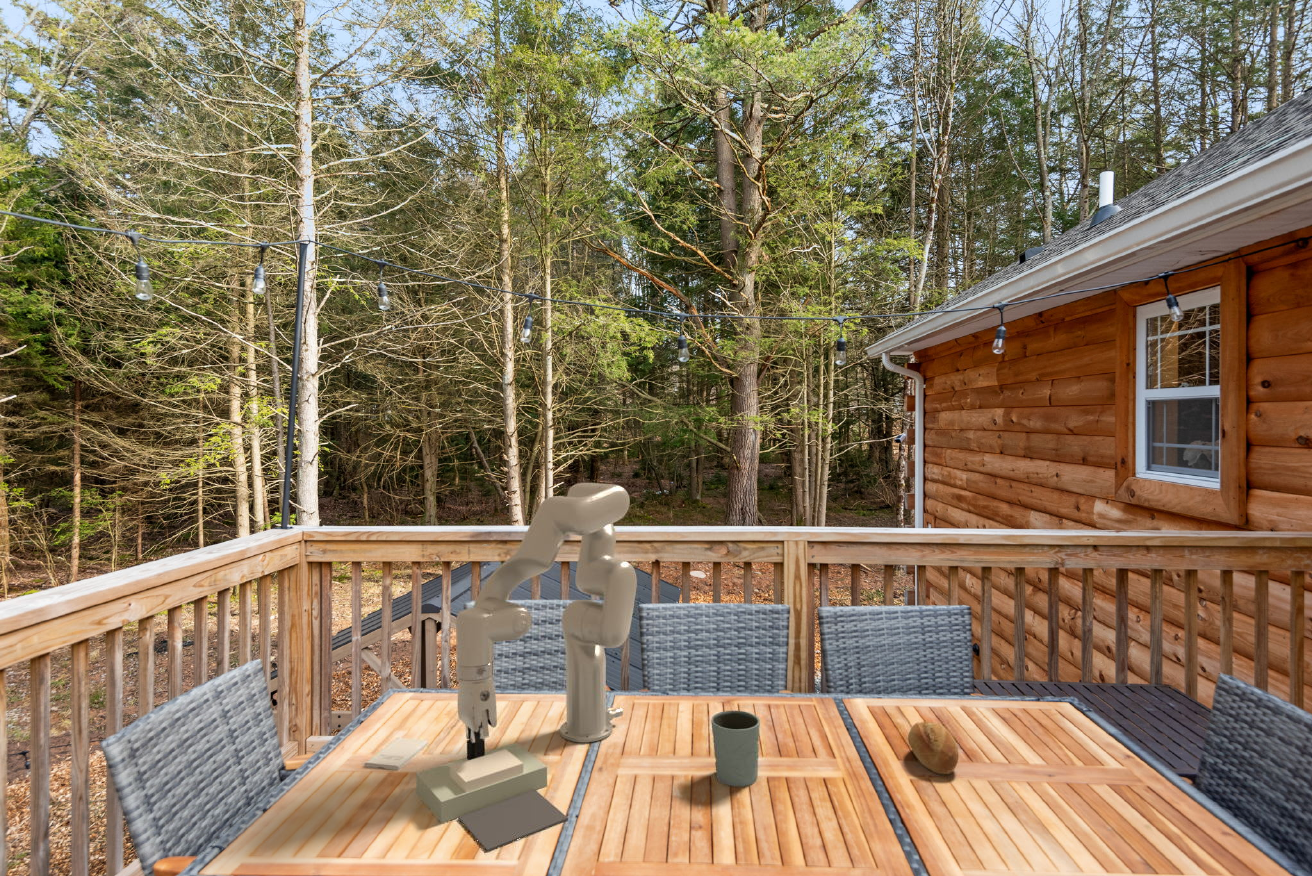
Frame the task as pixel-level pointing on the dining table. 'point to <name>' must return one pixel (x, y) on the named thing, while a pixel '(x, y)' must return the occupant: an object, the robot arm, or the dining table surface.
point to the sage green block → (455, 802)
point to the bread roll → (934, 747)
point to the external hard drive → (397, 753)
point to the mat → (512, 820)
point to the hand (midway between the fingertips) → (475, 758)
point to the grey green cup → (736, 747)
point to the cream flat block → (486, 770)
